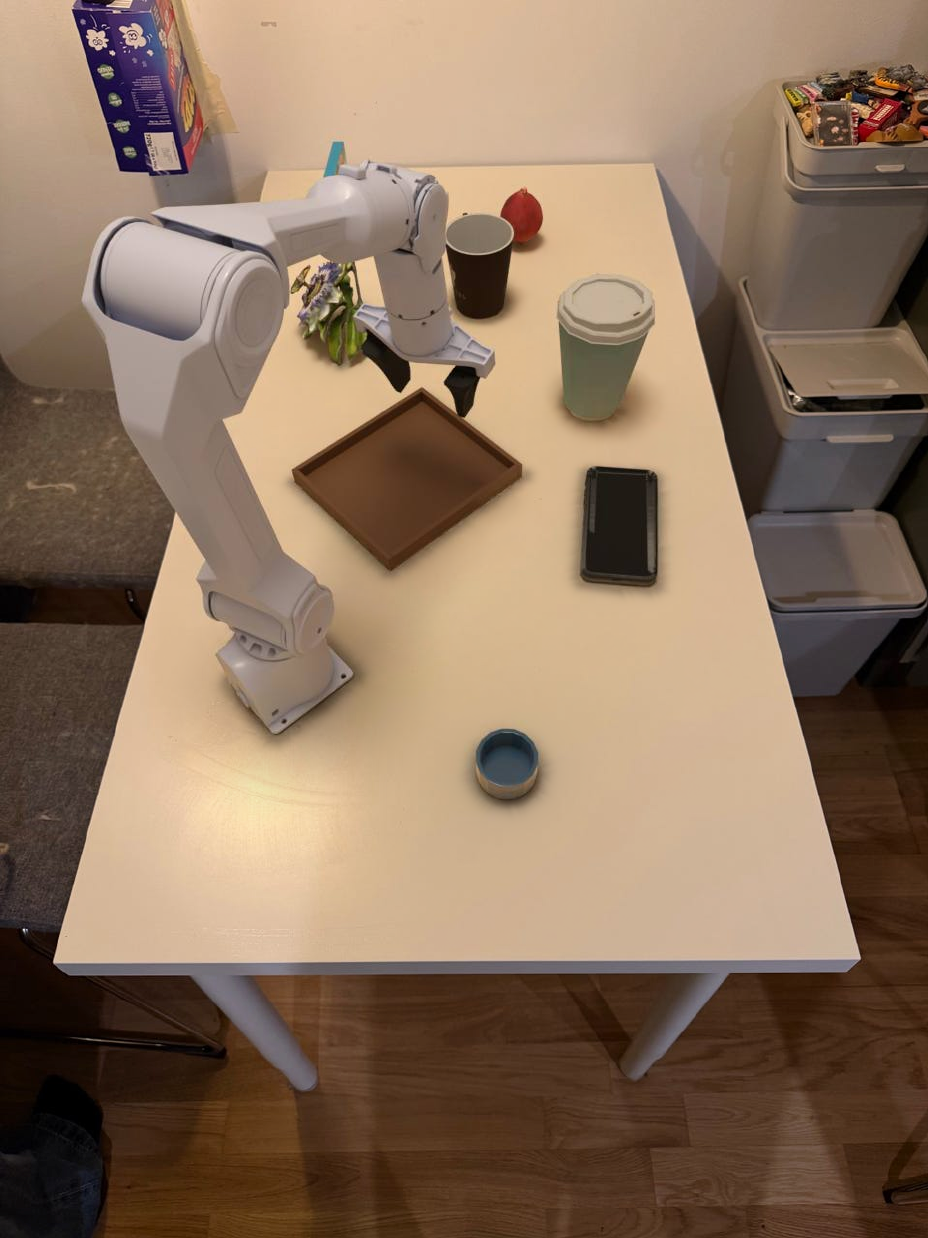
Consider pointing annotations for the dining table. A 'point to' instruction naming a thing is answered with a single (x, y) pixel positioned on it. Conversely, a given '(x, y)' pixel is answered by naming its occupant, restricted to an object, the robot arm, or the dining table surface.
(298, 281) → the passion flower
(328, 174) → the teal picture box
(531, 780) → the dish
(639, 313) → the disposable coffee cup
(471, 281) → the coffee mug
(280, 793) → the dining table surface
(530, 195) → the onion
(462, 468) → the tray
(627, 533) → the phone
